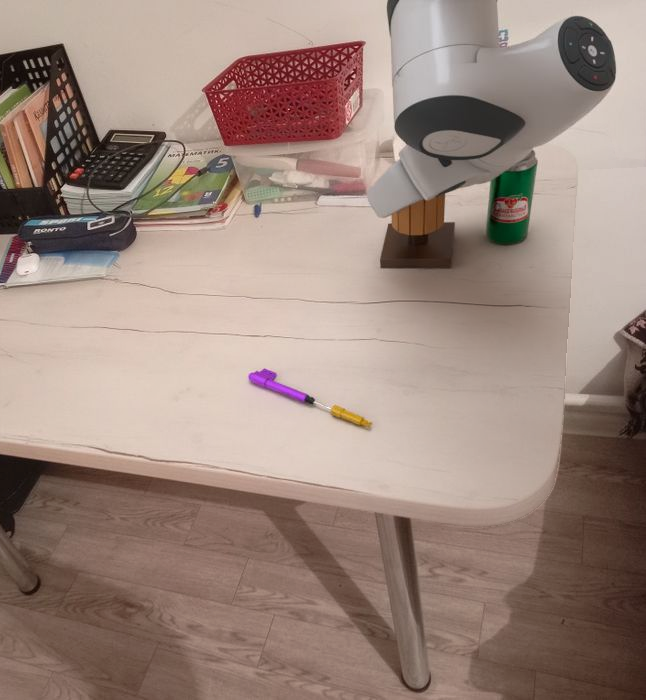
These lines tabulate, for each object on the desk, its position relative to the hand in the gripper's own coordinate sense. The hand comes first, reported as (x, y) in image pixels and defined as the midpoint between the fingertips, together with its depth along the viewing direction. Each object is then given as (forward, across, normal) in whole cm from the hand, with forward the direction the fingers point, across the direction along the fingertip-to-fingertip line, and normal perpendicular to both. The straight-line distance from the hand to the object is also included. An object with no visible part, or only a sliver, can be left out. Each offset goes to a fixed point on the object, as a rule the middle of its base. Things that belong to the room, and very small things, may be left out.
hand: (414, 191), depth 82 cm
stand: (+6, 0, +7) cm, 9 cm away
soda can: (+2, -10, +11) cm, 15 cm away
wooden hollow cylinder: (+3, 0, +4) cm, 4 cm away
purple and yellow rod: (-4, +28, +16) cm, 33 cm away
